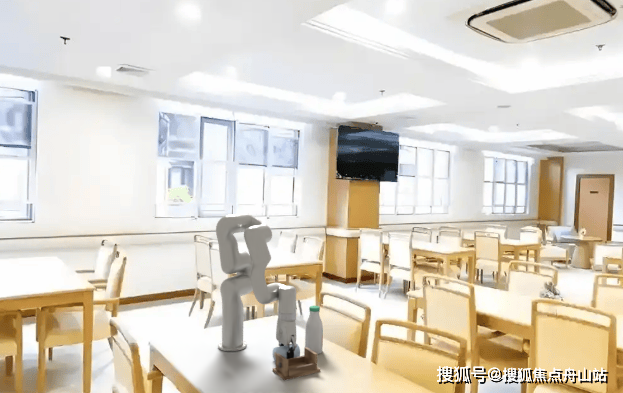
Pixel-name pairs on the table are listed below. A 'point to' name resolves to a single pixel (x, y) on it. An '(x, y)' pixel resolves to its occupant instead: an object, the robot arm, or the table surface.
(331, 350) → the table surface
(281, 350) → the cylinder
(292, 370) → the holder
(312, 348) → the milk bottle
